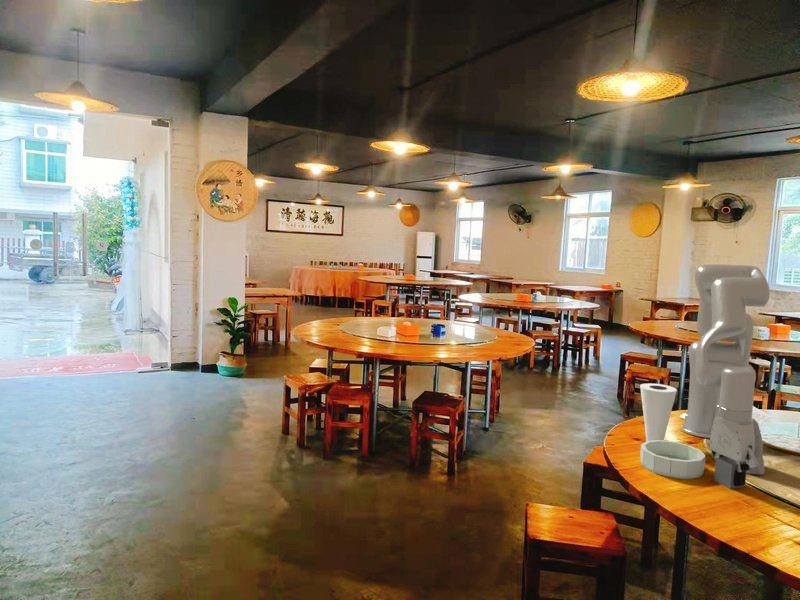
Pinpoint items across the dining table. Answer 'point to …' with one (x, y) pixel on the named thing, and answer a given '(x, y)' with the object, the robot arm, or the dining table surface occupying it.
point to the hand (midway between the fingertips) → (729, 480)
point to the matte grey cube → (726, 472)
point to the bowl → (672, 459)
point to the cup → (657, 409)
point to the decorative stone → (757, 451)
